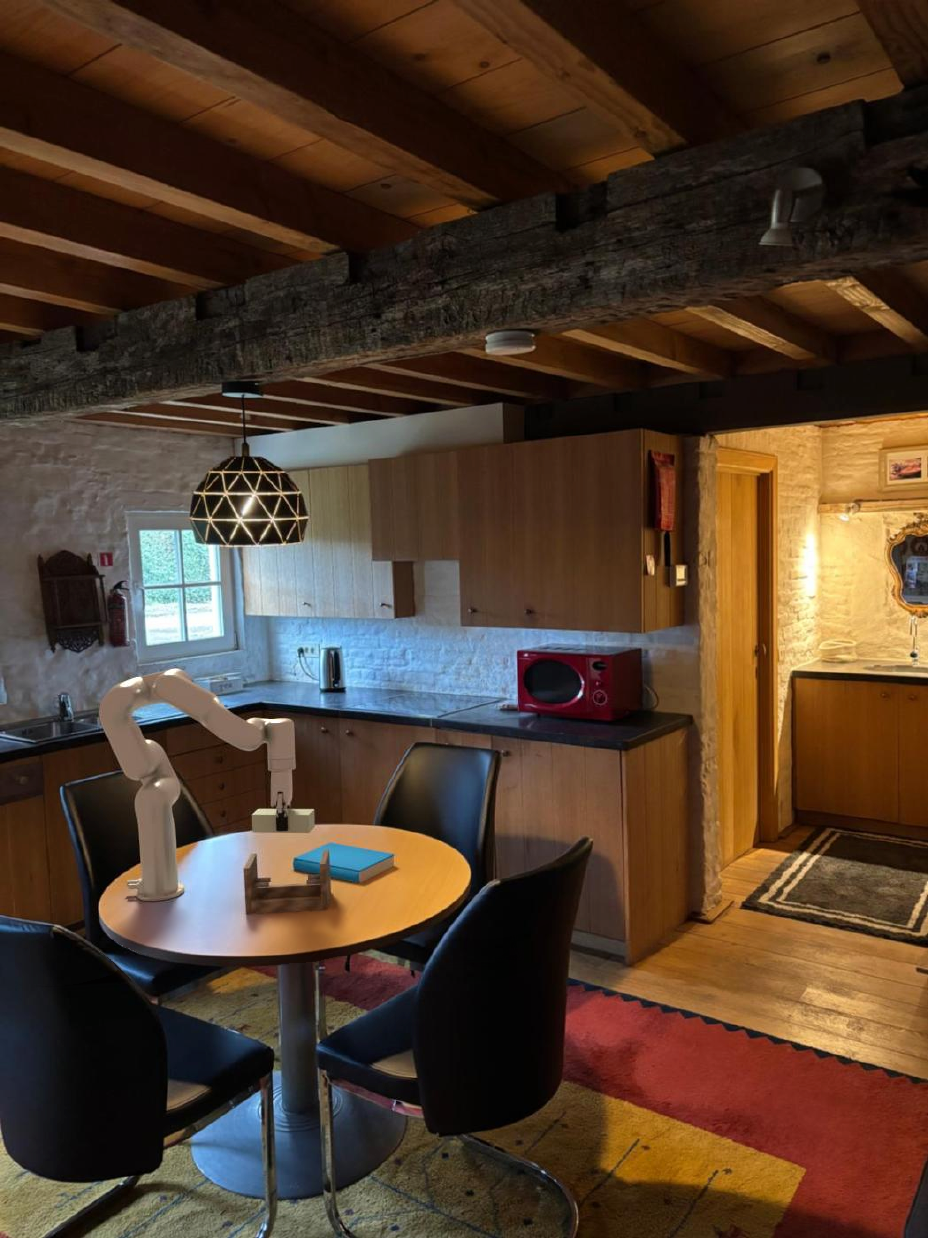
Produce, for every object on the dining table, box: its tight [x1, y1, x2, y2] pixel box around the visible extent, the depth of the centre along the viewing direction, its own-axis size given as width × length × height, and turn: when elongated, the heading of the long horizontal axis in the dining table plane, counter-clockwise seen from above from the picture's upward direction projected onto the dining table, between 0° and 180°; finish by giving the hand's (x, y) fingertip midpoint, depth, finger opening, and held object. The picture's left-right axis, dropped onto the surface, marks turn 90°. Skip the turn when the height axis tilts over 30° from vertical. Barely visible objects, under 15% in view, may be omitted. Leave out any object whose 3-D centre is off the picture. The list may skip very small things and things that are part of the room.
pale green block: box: [251, 808, 316, 834], centre depth 259 cm, size 16×6×5 cm, turn 85°
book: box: [292, 842, 395, 884], centre depth 274 cm, size 17×4×25 cm
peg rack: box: [242, 850, 332, 915], centre depth 247 cm, size 21×12×12 cm, turn 94°
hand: (284, 826), depth 259 cm, fingers closed on pale green block, 6 cm apart
